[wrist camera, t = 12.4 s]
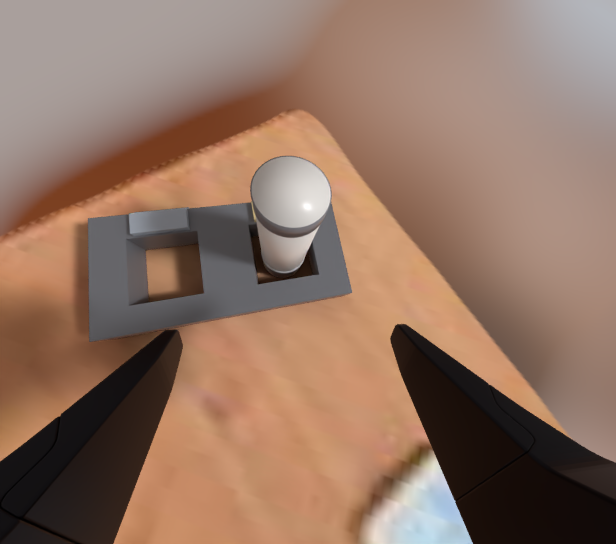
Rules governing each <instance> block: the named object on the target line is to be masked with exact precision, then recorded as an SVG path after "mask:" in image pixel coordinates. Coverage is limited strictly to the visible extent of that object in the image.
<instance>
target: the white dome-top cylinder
mask: <svg viewBox="0 0 616 544" xmlns="http://www.w3.org/2000/svg"><path fill="white" fill-rule="evenodd" d="M250 191H251V198H252V204H253V209H254V213H255V216H256V222H257V228H258V234H259V240H260V246H261V255H262V259H263V263H264V266H265V268H266V270H267V271H268V272H269V273H270V274H271V275H273V276H275V277H278V278H287V277H290V276H292V275H294V274H295V273H296V272H297V271H298V270H299V268H300V266H301V265H302V263H303V261H304V259H305V255H306V253H307V251H308V249H309V247H310V245H311V243H312V241H313V238H314V236H315V234H316V232H317V230H318V228H319V226H320V224H321V223H322V221H323V219H324V217H325V215H326V213H327V211H328V209H329V206H330V203H331V197H332V193H331V187H330V184H329V181H328V179H327V177H326V176H325V174H324V173H323V172H322V170H321V169H320V168H318V167H317V166H316V165H315V164H313V163H312V162H310V161H308V160H306V159H303V158H300V157H296V156H280V157H276V158H273V159H270V160H269V161H267V162H265V163H264V164H262V165H261V166H260V167H259V168H258V170H257V171H256V172H255V174H254V176H253V178H252V181H251V189H250Z"/></svg>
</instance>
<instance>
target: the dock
mask: <svg viewBox="0 0 616 544" xmlns="http://www.w3.org/2000/svg"><path fill="white" fill-rule="evenodd" d="M255 236H259V234H258V228H257V222H256V216H255V213H254V209H253V204H252V201H251V203H242V204H231V205H221V206H211V207H200V208H190V209H189V207H187V208H176V209H166V210H156V211H145V212H135V213H129V214H128V215H118V216H108V217H97V218H88V267H89V342H93V341H102V340H111V339H119V338H124V337H129V336H134V335H140V334H145V333H150V332H156V331H161V330H166V329H172V328H177V327H182V326H187V325H193V324H198V323H203V322H209V321H214V320H219V319H224V318H230V317H235V316H240V315H246V314H251V313H256V312H262V311H267V310H272V309H277V308H283V307H288V306H293V305H299V304H304V303H309V302H315V301H320V300H325V299H330V298H336V297H341V296H344V295H347V294H350V293H352V290H351V285H350V281H349V277H348V272H347V268H346V264H345V260H344V255H343V251H342V247H341V242H340V238H339V234H338V229H337V225H336V221H335V217H334V212H333V208H332V204H331V203H330V206H329V209H328V211H327V213H326V215H325V217H324V219H323V221H322V223H321V224H320V226H319V228H318V230H317V232H316V234H315V236H314V238H313V241H312V243H311V245H310V247H309V249H308V255H309V260H310V265H311V270H312V276H306V277H300V278H294V279H288V280H282V281H276V282H270V283H264V284H259V283H258V277H257V270H256V264H255V257H254V251H253V244H252V238H251V237H255ZM191 244H199V252H200V261H201V270H202V280H203V289H204V293H203V294H197V295H191V296H185V297H179V298H173V299H167V300H161V301H155V302H149V298H148V281H147V265H146V250H151V249H159V248H167V247H175V246H183V245H191Z"/></svg>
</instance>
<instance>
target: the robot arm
mask: <svg viewBox="0 0 616 544" xmlns="http://www.w3.org/2000/svg"><path fill="white" fill-rule="evenodd" d="M390 340H391V344H392V348H393V351H394V354H395V357H396V360H397V364H398V367H399V370H400V373H401V376H402V378H403V381H404V383H405V385H406V388H407V390H408V392H409V395H410V397H411V399H412V402H413V404H414V406H415V409H416V411H417V413H418V416H419V418H420V420H421V423H422V425H423V427H424V430H425V432H426V434H427V437H428V439H429V441H430V444H431V446H432V448H433V451H434V453H435V455H436V458H437V460H438V462H439V465H440V467H441V469H442V472H443V474H444V476H445V479H446V481H447V484H448V486H449V488H450V491H451V493H452V495H453V498H454V500H455V501H456V502H455V503H456V505H457V507H458V510H459V512H460V514H461V517H462V519H463V521H464V524H465V526H466V528H467V531H468V533H469V535H470V538H471V540H472V542H473V544H616V463H615V462H613V461H610V460H608V459H605V458H603V457H601V456H599V455H597V454H595V453H593V452H591V451H589V450H588V449H586V448H585V447H583V446H581V445H579V444H578V443H577V442H575V441H573V440H572V439H570V438H569V437H567V436H566V435H564V434H563V433H561V432H560V431H558V430H556V429H555V428H553V427H552V426H550V425H549V424H547V423H546V422H544V421H542V420H541V419H539V418H538V417H536V416H535V415H533V414H532V413H530V412H529V411H527V410H526V409H524V408H523V407H521V406H520V405H518V404H517V403H515V402H514V401H512V400H511V399H509V398H508V397H507V396H505V395H504V394H502V393H501V392H499V391H498V390H497V389H495V388H494V387H493V386H491V385H489V384H488V383H487V382H486V381H484V380H483V379H481V378H480V377H479V376H477V375H476V374H474V373H473V372H472V371H470V370H469V369H467V368H466V367H465V366H463V365H462V364H460V363H459V362H458V361H456V360H455V359H453V358H452V357H451V356H449V355H448V354H447V353H445V352H444V351H442V350H441V349H440V348H438V347H437V346H435V345H434V344H433V343H431V342H430V341H428V340H427V339H426V338H424V337H423V336H421V335H420V334H419V333H417V332H416V331H415V330H413V329H412V328H410V327H409V326H408V325H406V324H397V325H396V326H395V328H394V330H393V332H392V335H391V338H390ZM182 349H183V344H182V340H181V337H180V334H179V331H178V330H165V331H164V332H162V333H161V334H160V335H159V336H157V337H156V338H155V339H154V340H152V341H151V342H150V343H149V344H147V345H146V346H145V347H144V348H143V349H141V350H140V351H139V352H138V353H136V354H135V355H134V356H133V357H131V358H130V359H129V360H128V361H126V362H125V363H124V364H123V365H121V366H120V367H119V368H118V369H116V370H115V371H114V372H113V373H112V374H110V375H109V376H108V377H107V378H105V379H104V380H103V381H102V382H100V383H99V384H98V385H97V386H95V387H94V388H93V389H92V390H90V391H89V392H88V393H87V394H85V395H84V396H83V397H82V398H81V399H79V400H78V401H77V402H76V403H74V404H73V405H72V406H71V407H69V408H68V409H67V410H66V411H64V412H63V413H62V414H61V416H60V417H57V418H56V419H54V420H53V421H52V422H51V423H49V424H48V425H47V426H46V427H44V428H43V429H42V430H41V431H39V432H38V433H37V434H36V435H34V436H33V437H32V438H30V439H29V440H28V441H27V442H25V443H24V444H23V445H22V446H20V447H19V448H18V449H16V450H15V451H14V452H12V453H11V454H10V455H8V456H7V457H6V458H4V459H3V460H2V461H0V544H113V543H114V540H115V538H116V535H117V533H118V530H119V527H120V525H121V522H122V519H123V517H124V514H125V512H126V509H127V506H128V504H129V501H130V498H131V496H132V493H133V491H134V488H135V485H136V483H137V480H138V477H139V475H140V472H141V470H142V467H143V464H144V462H145V459H146V456H147V454H148V451H149V449H150V446H151V443H152V441H153V438H154V435H155V433H156V430H157V428H158V425H159V422H160V420H161V417H162V414H163V412H164V409H165V407H166V404H167V401H168V399H169V396H170V393H171V390H172V387H173V384H174V380H175V376H176V372H177V368H178V365H179V361H180V357H181V353H182Z"/></svg>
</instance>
